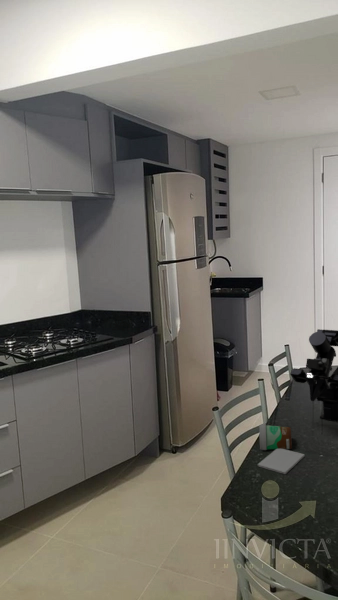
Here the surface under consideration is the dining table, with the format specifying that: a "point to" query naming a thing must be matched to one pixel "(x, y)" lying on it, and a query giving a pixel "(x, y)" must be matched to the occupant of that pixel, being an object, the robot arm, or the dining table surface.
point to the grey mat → (281, 460)
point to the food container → (275, 437)
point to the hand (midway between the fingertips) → (312, 400)
